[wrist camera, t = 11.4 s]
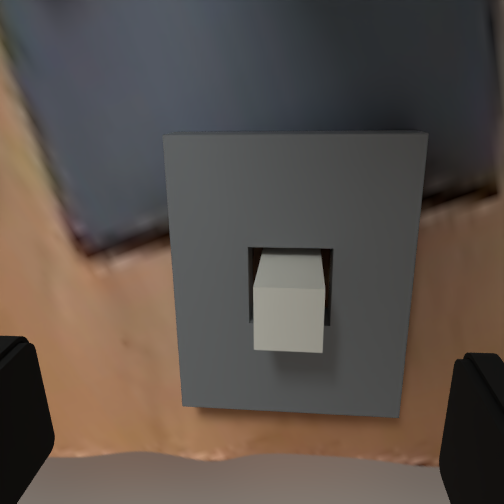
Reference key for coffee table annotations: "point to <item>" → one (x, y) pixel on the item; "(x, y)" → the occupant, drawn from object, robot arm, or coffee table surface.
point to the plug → (289, 300)
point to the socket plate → (294, 236)
